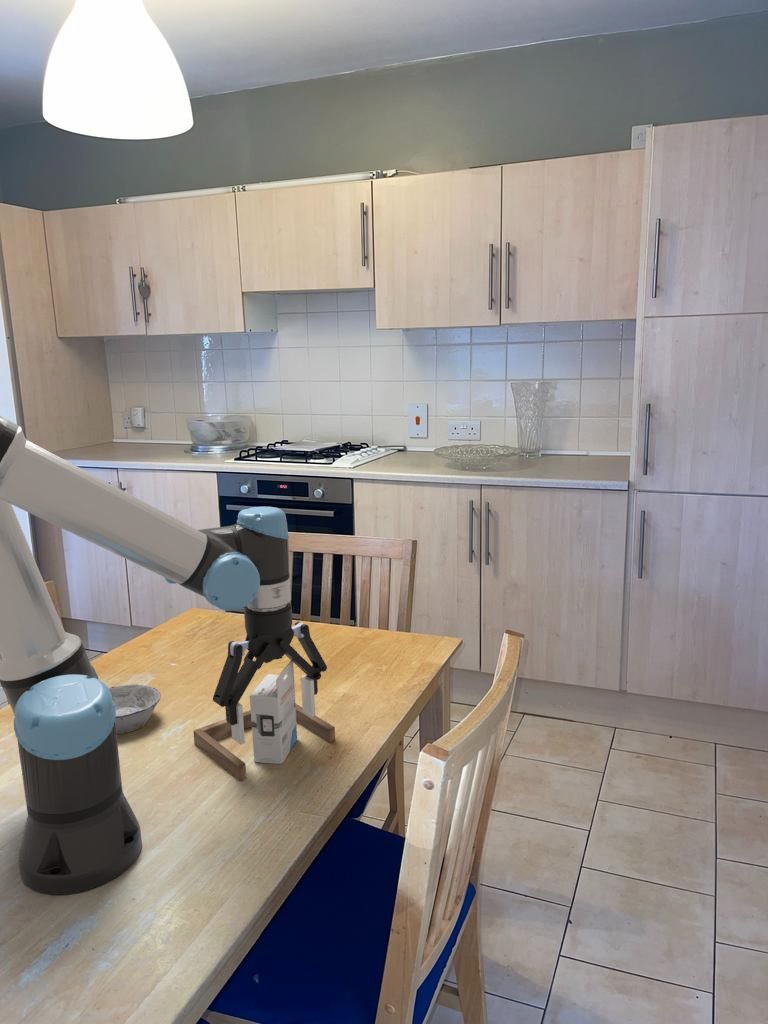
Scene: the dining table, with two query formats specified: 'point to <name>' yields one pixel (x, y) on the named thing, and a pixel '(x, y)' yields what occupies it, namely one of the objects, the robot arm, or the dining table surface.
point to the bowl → (133, 706)
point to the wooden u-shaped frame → (212, 732)
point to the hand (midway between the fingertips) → (274, 727)
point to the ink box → (274, 717)
